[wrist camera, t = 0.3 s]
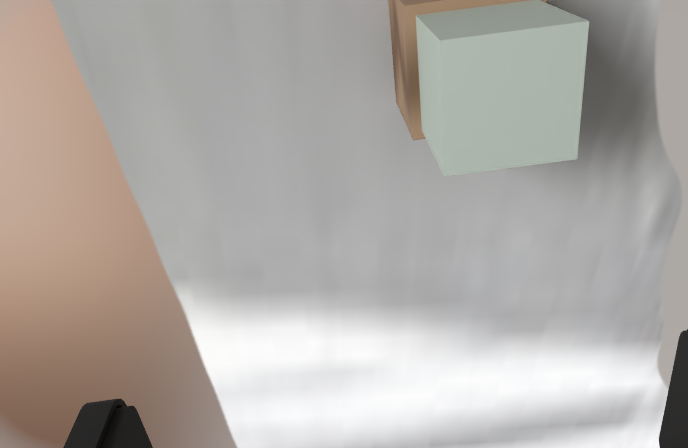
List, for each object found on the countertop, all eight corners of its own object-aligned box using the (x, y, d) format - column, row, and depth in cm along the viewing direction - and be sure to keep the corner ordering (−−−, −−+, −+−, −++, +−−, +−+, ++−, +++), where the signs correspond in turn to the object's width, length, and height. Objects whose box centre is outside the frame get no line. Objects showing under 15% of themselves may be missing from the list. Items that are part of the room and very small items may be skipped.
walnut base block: (387, -13, 34) (404, 5, 28) (504, -29, 34) (547, -14, 28) (396, 102, 38) (413, 140, 31) (503, 87, 38) (540, 123, 31)
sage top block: (415, 15, 28) (439, 40, 23) (537, -1, 28) (589, 20, 23) (421, 130, 31) (444, 176, 26) (532, 116, 31) (577, 159, 26)
